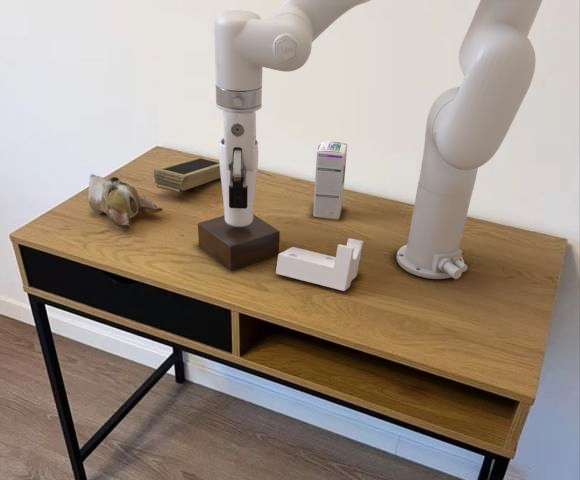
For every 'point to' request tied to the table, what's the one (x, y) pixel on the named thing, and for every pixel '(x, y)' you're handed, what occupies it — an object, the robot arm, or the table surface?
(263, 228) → the walnut block
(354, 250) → the bracket
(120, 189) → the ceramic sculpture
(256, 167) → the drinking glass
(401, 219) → the table surface
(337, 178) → the syrup box
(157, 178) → the box
